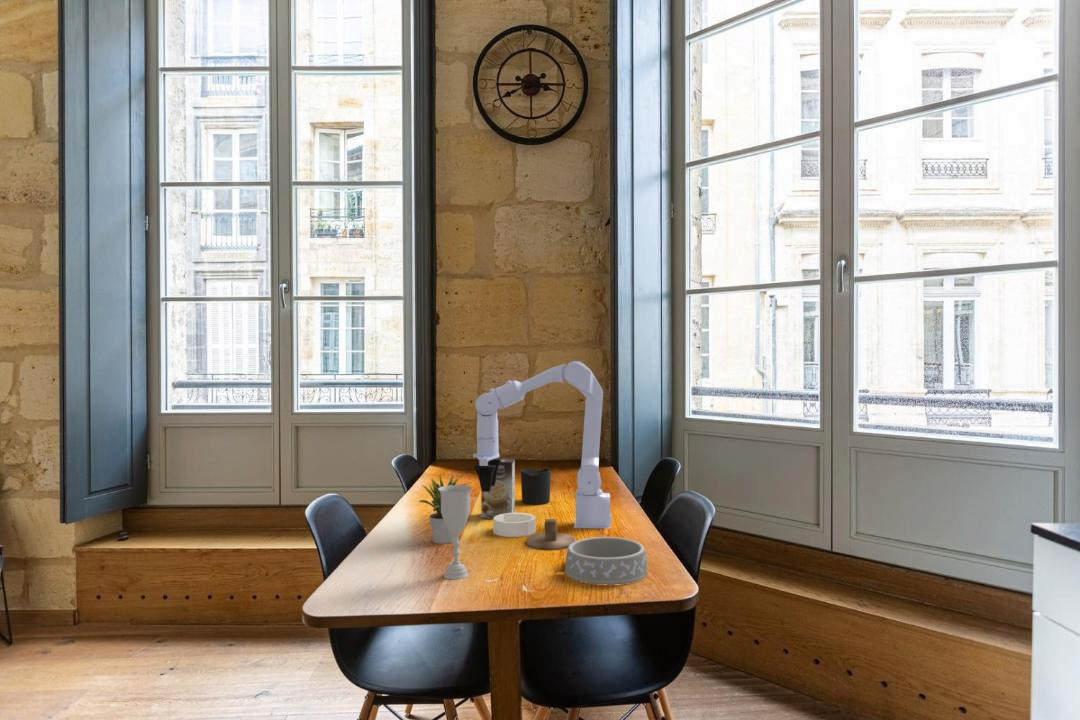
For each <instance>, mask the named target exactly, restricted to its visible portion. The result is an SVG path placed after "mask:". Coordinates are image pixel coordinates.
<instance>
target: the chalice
mask: <svg viewBox="0 0 1080 720" xmlns="http://www.w3.org/2000/svg"><path fill="white" fill-rule="evenodd" d="M472 490H473V487H472V486H470V485H463V484H456V485H449V486H447V485H444V486H443V487H440V488H439V491H440V493H441V514H442V517H443V520H444V522H445V524H446V526H447V528H448V530H449V532H451V533H453V536H454V539H453V542H451V544H452V546H453V549H452V551H451V553H452V554H453V561H452V562H451V563H449V564H447V567H446V570H445V573H444V575H443V577H444V578H445V579H447V580H462V579H465V578H468V577H469V573H468V571H467V568H466V566H465V564H464V563H463V562H461V561H460V560H459V555H460V554H461V551H460V548H459V545H460V543H461V542H460V541H459V534H461V533H463V531H464V529H465V526H466V524H467V523H468V519H469V517H470V513H471V492H472Z"/></svg>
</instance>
